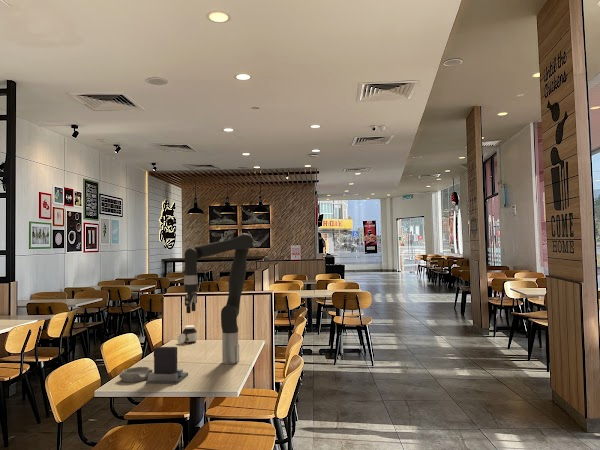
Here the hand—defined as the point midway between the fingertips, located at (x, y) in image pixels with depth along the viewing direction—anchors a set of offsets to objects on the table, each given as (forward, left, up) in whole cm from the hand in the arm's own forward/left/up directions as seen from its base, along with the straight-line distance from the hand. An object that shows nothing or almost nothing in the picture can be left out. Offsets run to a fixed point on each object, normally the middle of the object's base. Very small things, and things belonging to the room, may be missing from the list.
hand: (191, 312), depth 273 cm
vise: (+3, +28, -30) cm, 41 cm away
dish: (+20, +28, -30) cm, 46 cm away
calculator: (+3, +31, -29) cm, 42 cm away
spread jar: (+25, -66, -30) cm, 77 cm away
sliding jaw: (+3, +23, -28) cm, 37 cm away
